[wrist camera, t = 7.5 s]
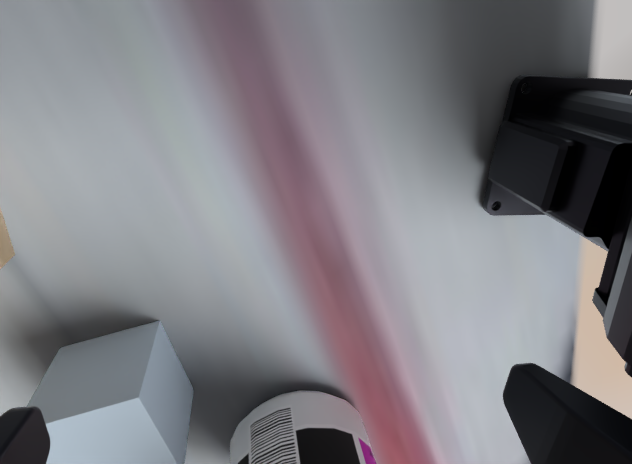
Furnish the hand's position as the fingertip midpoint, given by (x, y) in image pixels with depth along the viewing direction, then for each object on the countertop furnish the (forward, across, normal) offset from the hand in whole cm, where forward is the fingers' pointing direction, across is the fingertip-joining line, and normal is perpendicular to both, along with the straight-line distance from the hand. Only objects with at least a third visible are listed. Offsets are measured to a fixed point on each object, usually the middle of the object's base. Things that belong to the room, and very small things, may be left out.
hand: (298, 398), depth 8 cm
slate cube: (+12, +7, +10) cm, 17 cm away
